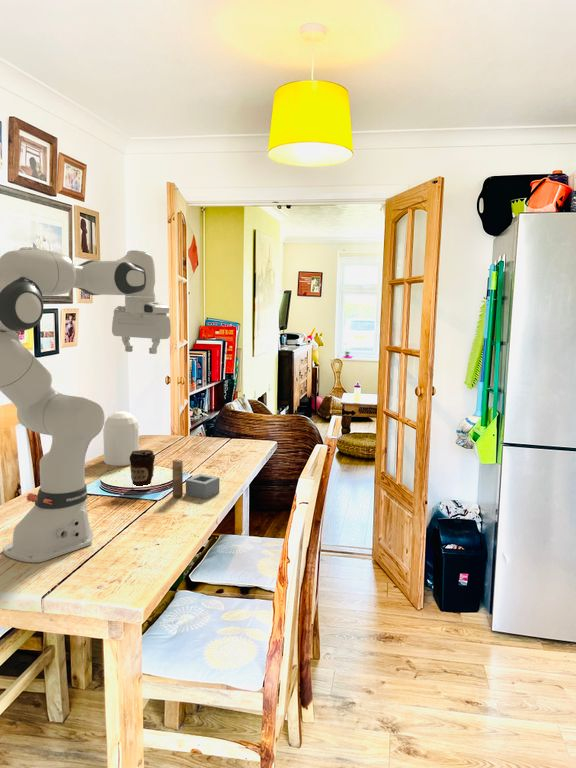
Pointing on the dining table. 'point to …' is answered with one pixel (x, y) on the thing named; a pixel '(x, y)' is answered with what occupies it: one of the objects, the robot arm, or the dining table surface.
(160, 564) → the dining table surface
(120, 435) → the container
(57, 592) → the dining table surface
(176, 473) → the dowel
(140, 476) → the coffee cup
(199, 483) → the socket block
